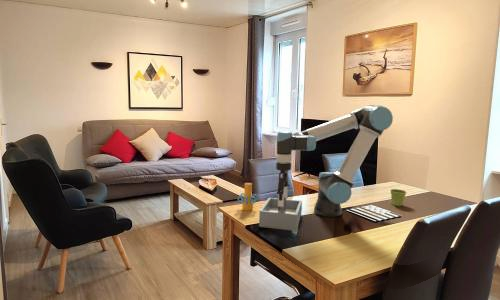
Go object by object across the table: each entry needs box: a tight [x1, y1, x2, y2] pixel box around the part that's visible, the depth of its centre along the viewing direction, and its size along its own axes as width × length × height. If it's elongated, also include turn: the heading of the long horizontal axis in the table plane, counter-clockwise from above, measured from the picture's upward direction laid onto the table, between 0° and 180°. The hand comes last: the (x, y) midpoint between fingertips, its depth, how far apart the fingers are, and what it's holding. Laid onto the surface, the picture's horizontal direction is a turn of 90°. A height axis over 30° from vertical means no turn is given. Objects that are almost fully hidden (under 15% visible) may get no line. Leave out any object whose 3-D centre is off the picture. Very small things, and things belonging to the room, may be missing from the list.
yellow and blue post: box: [237, 182, 259, 212], centre depth 204 cm, size 12×10×15 cm
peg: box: [278, 197, 286, 213], centre depth 188 cm, size 4×4×12 cm
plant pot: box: [389, 188, 408, 207], centre depth 222 cm, size 9×9×9 cm
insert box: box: [258, 197, 303, 232], centre depth 188 cm, size 18×24×8 cm
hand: (282, 202), depth 188 cm, fingers open, 13 cm apart
